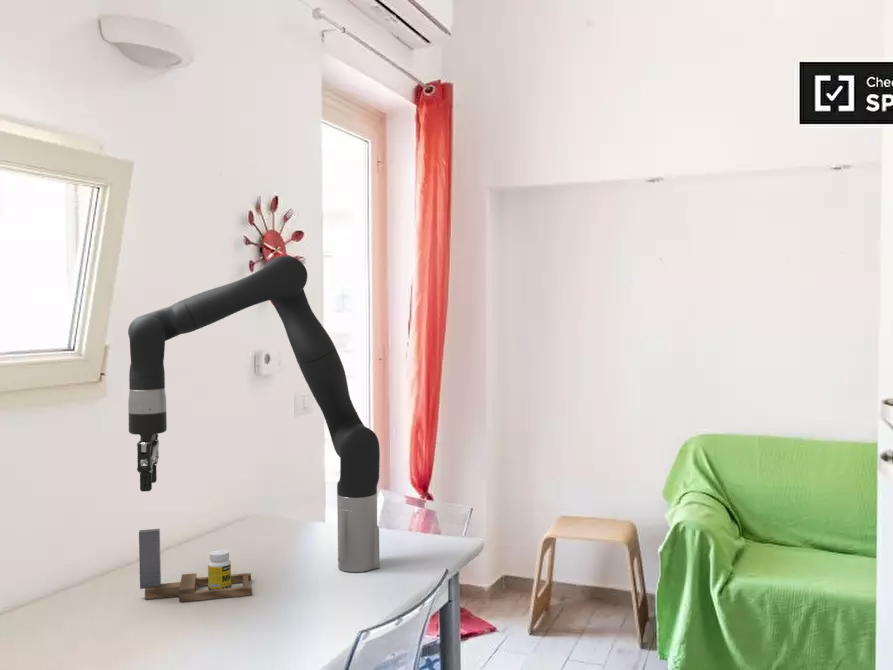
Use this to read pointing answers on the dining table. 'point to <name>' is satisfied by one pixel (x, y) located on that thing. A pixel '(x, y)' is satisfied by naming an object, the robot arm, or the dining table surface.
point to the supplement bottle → (219, 570)
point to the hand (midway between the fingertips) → (148, 486)
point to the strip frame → (187, 586)
